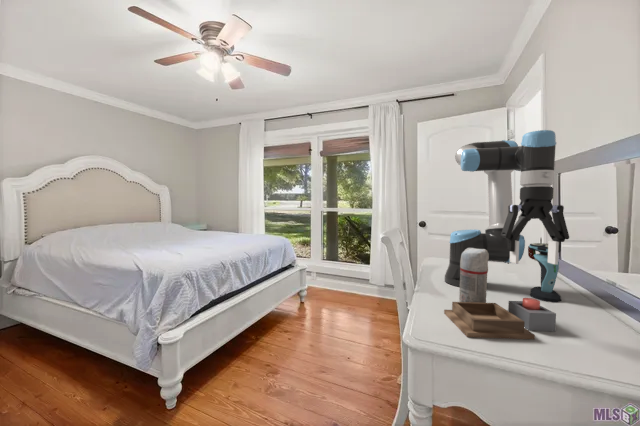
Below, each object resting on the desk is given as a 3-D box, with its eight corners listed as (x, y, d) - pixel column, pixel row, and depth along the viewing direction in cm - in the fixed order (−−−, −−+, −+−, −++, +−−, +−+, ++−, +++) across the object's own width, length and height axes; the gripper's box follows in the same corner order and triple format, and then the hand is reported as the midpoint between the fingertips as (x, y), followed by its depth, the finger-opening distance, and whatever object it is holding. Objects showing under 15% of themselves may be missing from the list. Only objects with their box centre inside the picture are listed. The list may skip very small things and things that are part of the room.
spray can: (491, 313, 86) (493, 251, 85) (463, 311, 87) (465, 250, 86) (481, 304, 94) (483, 247, 93) (455, 302, 95) (457, 246, 95)
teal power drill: (543, 302, 96) (546, 246, 95) (518, 291, 107) (520, 241, 106) (568, 302, 96) (571, 246, 95) (540, 291, 108) (542, 241, 107)
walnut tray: (444, 313, 86) (444, 300, 85) (499, 315, 85) (499, 301, 84) (467, 337, 71) (467, 321, 70) (534, 339, 70) (535, 323, 70)
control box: (508, 316, 84) (508, 300, 83) (531, 317, 83) (532, 301, 83) (528, 330, 75) (529, 312, 74) (555, 331, 74) (556, 313, 74)
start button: (519, 305, 81) (519, 297, 81) (533, 306, 81) (533, 297, 80) (528, 311, 77) (529, 302, 77) (543, 311, 77) (543, 302, 76)
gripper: (503, 185, 74) (500, 265, 75) (590, 185, 73) (586, 267, 74) (488, 186, 82) (485, 259, 82) (566, 187, 80) (563, 261, 81)
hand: (533, 263), depth 78 cm, fingers open, 10 cm apart
